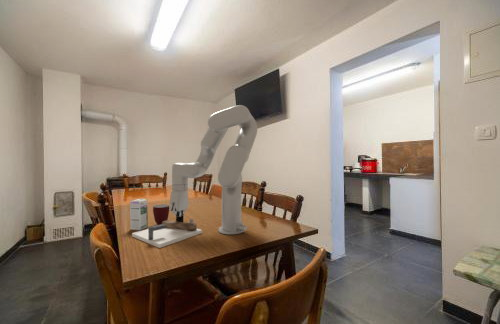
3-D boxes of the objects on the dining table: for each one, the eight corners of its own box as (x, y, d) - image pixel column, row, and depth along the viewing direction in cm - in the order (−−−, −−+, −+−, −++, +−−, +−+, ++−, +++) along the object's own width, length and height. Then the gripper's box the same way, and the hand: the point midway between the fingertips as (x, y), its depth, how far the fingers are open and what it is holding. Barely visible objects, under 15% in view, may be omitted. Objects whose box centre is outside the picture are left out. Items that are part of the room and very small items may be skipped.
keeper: (163, 235, 97) (163, 223, 97) (165, 236, 95) (165, 225, 95) (147, 239, 93) (147, 227, 93) (149, 240, 91) (149, 228, 91)
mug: (152, 222, 123) (152, 204, 122) (168, 220, 126) (168, 203, 126) (153, 227, 113) (153, 208, 113) (169, 225, 116) (169, 206, 116)
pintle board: (201, 233, 105) (202, 229, 105) (159, 248, 87) (159, 244, 87) (173, 224, 118) (173, 222, 118) (131, 236, 100) (131, 233, 100)
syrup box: (140, 230, 108) (140, 201, 108) (129, 229, 110) (129, 200, 109) (147, 227, 114) (147, 199, 114) (137, 226, 115) (137, 198, 115)
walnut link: (198, 228, 106) (198, 218, 106) (192, 231, 102) (192, 221, 102) (167, 224, 112) (167, 215, 112) (160, 227, 108) (160, 217, 108)
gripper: (181, 185, 119) (181, 219, 119) (163, 189, 104) (163, 227, 105) (194, 186, 117) (194, 220, 117) (177, 189, 102) (177, 229, 103)
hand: (179, 223), depth 111 cm, fingers closed
